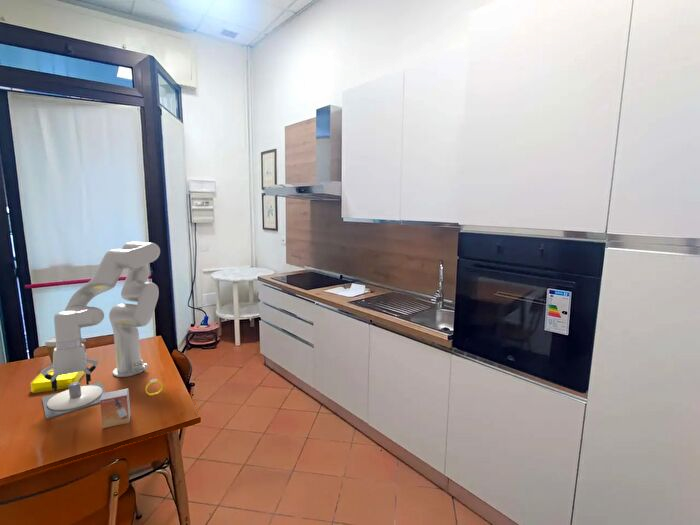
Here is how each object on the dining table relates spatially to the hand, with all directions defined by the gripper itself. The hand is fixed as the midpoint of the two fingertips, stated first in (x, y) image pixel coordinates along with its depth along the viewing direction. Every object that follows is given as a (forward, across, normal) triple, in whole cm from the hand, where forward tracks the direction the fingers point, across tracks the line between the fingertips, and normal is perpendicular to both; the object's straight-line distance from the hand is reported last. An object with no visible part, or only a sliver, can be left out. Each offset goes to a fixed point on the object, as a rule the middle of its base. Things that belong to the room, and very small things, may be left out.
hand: (72, 386), depth 136 cm
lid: (+5, -1, -1) cm, 5 cm away
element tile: (+6, +5, -22) cm, 24 cm away
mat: (+6, -1, -1) cm, 6 cm away
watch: (+6, -26, +12) cm, 29 cm away
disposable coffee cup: (+5, +6, -46) cm, 47 cm away
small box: (+6, -13, +25) cm, 29 cm away
